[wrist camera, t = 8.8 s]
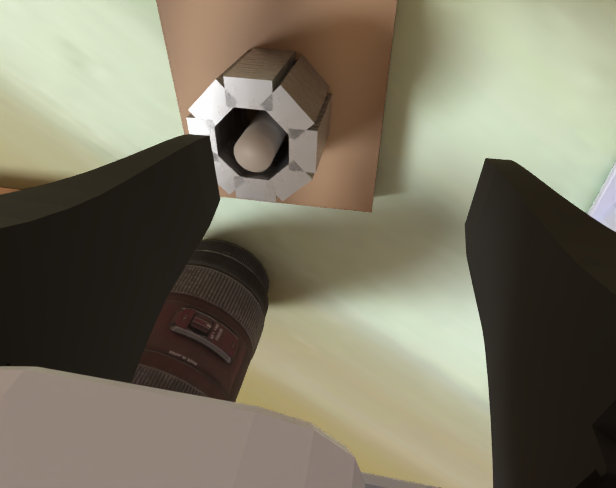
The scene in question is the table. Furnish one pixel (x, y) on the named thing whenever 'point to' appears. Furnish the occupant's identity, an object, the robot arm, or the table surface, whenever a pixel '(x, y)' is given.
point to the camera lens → (208, 325)
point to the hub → (282, 108)
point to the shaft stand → (304, 40)
